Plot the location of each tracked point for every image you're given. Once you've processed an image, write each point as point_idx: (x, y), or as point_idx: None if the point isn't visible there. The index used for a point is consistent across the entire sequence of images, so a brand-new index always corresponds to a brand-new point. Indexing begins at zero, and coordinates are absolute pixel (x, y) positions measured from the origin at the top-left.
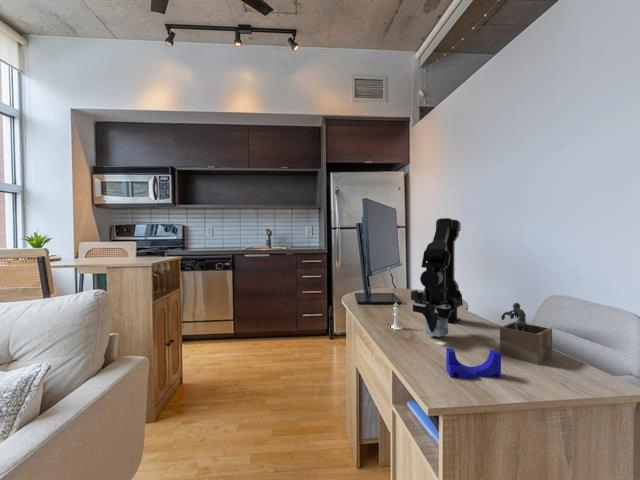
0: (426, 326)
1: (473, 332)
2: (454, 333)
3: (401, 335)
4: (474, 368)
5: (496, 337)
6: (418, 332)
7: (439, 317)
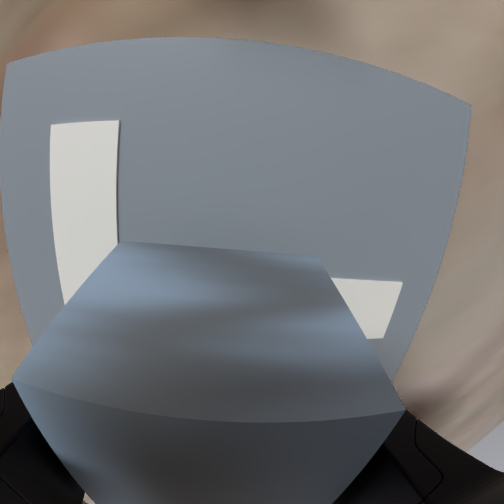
0: (83, 292)
1: (500, 355)
2: (457, 308)
3: (61, 6)
4: None
5: (448, 434)
6: (291, 35)
7: (348, 478)
